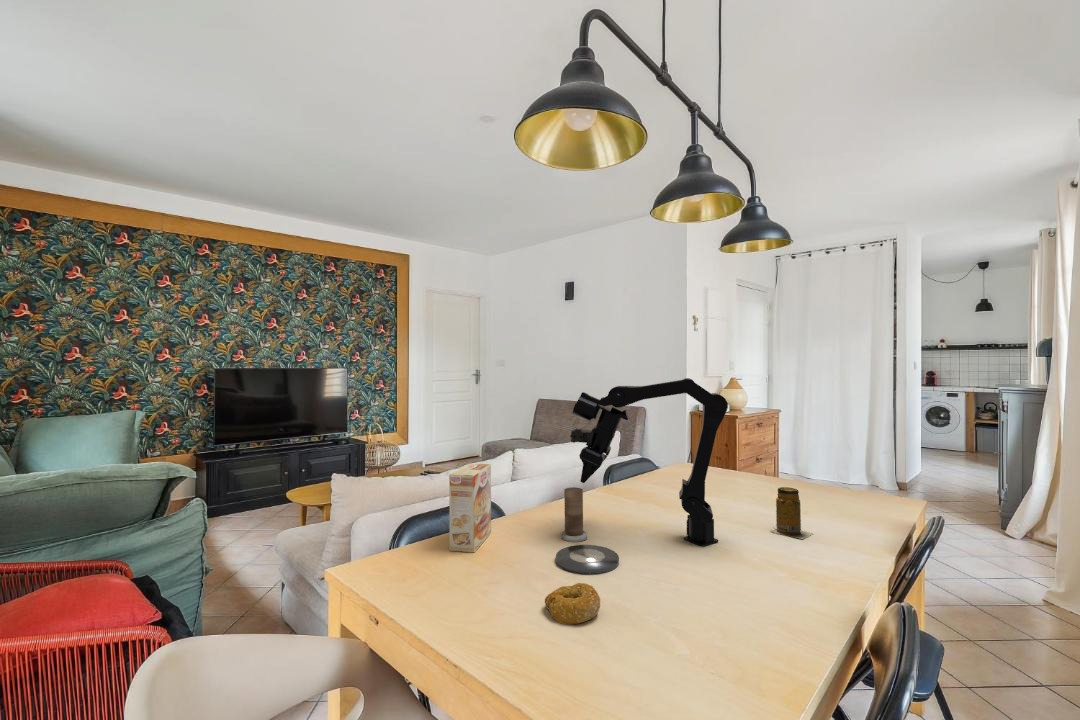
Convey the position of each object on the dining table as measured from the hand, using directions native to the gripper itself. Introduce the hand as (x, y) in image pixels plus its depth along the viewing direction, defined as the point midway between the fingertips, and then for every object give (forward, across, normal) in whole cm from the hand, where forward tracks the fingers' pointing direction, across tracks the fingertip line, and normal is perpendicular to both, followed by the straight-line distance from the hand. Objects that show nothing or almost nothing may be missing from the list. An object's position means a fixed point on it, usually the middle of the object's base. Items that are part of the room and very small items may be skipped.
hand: (585, 478), depth 138 cm
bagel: (+12, +45, +11) cm, 48 cm away
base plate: (+12, +20, +9) cm, 26 cm away
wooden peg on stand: (+15, +5, +4) cm, 16 cm away
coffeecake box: (+25, +15, -20) cm, 35 cm away
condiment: (-8, -12, +57) cm, 59 cm away
